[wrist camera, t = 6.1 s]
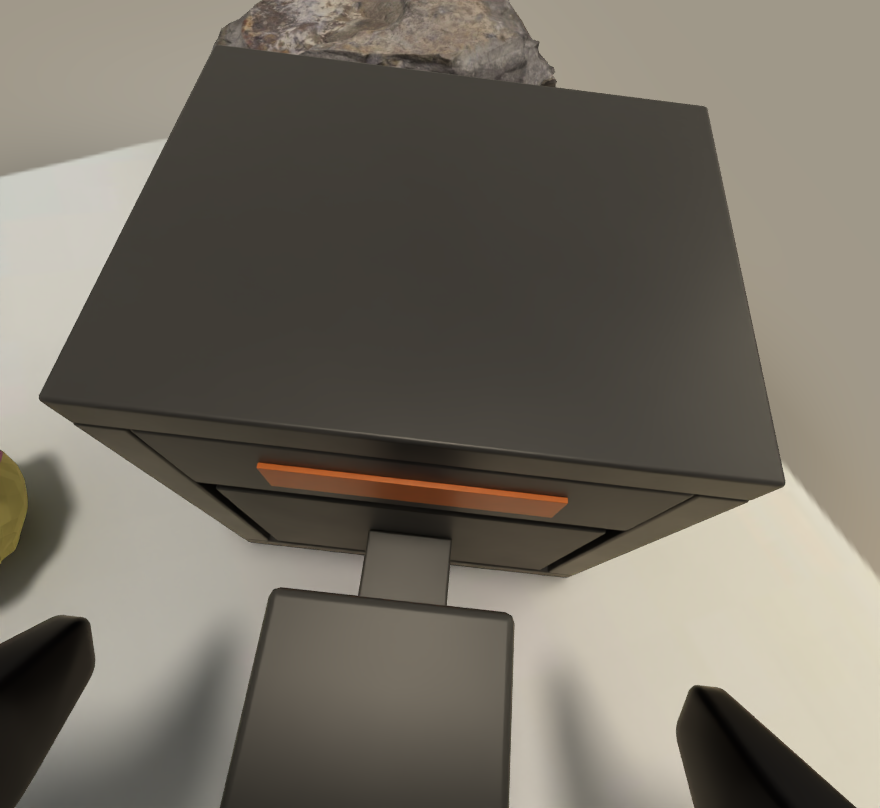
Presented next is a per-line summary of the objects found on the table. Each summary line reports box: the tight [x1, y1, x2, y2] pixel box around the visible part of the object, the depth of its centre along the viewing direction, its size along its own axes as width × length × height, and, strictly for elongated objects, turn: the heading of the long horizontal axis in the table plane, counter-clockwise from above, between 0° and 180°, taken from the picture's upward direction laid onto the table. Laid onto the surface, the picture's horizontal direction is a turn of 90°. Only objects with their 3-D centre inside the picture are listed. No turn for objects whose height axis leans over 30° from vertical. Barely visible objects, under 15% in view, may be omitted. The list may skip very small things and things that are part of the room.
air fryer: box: [39, 45, 785, 578], centre depth 13 cm, size 8×10×10 cm
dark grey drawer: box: [216, 484, 606, 808], centre depth 11 cm, size 11×8×10 cm
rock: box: [213, 0, 557, 87], centre depth 22 cm, size 14×11×5 cm
